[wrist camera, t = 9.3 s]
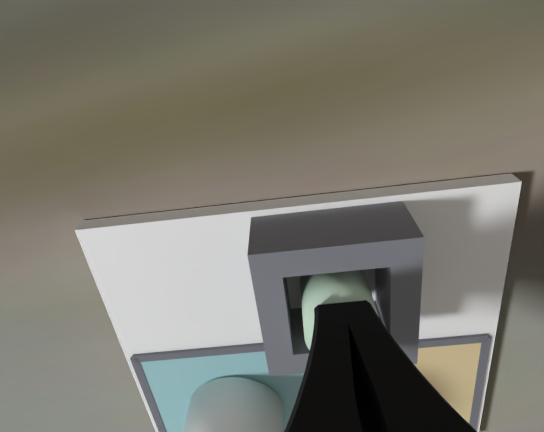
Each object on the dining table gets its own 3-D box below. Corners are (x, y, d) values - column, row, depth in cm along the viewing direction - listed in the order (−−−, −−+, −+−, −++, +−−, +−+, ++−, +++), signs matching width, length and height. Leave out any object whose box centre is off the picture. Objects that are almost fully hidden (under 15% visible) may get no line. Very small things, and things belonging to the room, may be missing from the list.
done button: (366, 304, 13) (382, 359, 11) (302, 310, 13) (307, 365, 11) (365, 251, 12) (382, 300, 10) (296, 258, 12) (300, 308, 10)
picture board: (471, 431, 18) (499, 496, 16) (172, 453, 19) (159, 518, 17) (511, 173, 12) (564, 216, 10) (82, 220, 13) (42, 269, 11)
